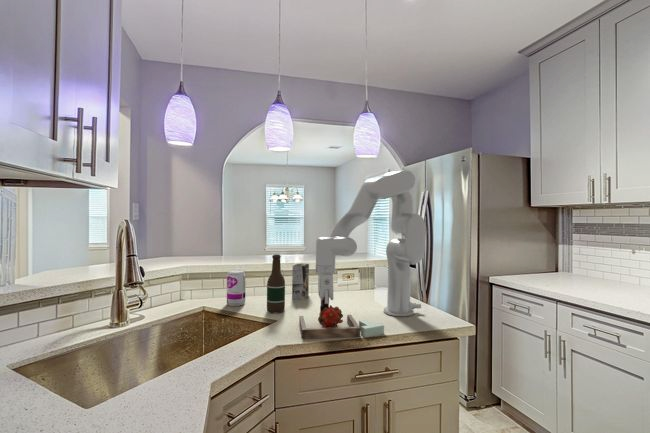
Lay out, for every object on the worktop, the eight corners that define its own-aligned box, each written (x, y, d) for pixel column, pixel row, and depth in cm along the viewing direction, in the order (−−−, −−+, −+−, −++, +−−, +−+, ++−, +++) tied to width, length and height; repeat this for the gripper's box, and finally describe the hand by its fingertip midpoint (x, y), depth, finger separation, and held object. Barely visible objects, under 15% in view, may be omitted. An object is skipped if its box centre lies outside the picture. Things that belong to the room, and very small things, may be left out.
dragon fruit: (342, 327, 136) (322, 340, 127) (327, 311, 139) (307, 323, 130) (351, 313, 132) (332, 325, 123) (336, 297, 135) (316, 308, 126)
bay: (350, 322, 137) (351, 314, 137) (360, 336, 122) (360, 328, 122) (299, 323, 135) (299, 315, 135) (302, 338, 119) (302, 329, 119)
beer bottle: (288, 309, 153) (289, 254, 153) (278, 314, 146) (279, 256, 146) (273, 307, 156) (273, 253, 156) (262, 311, 149) (263, 255, 149)
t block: (370, 327, 132) (371, 319, 132) (383, 333, 125) (384, 325, 125) (352, 330, 129) (352, 321, 129) (365, 337, 122) (365, 328, 121)
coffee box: (304, 299, 171) (304, 266, 170) (291, 298, 172) (292, 265, 172) (309, 295, 180) (309, 263, 179) (296, 294, 181) (297, 262, 180)
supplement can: (235, 307, 155) (236, 273, 155) (222, 304, 160) (223, 271, 159) (249, 303, 162) (249, 270, 162) (236, 300, 166) (236, 269, 166)
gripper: (338, 272, 130) (337, 322, 130) (332, 266, 144) (331, 310, 145) (317, 272, 129) (316, 322, 129) (313, 266, 143) (312, 311, 144)
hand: (324, 316), depth 137 cm, fingers closed
